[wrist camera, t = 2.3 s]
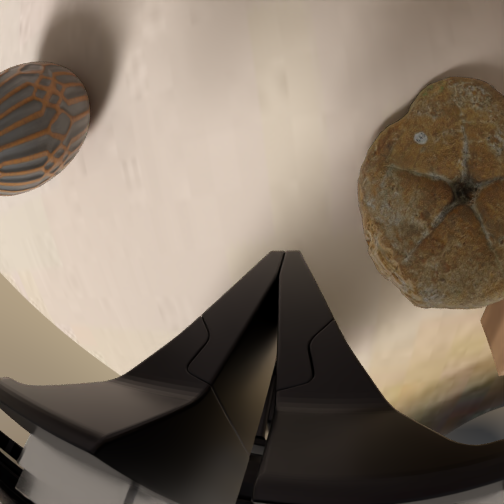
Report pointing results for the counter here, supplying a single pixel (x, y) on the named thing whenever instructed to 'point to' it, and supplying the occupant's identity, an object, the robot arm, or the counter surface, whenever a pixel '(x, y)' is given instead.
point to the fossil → (440, 197)
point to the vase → (39, 124)
